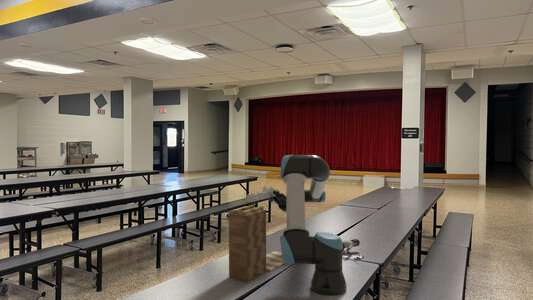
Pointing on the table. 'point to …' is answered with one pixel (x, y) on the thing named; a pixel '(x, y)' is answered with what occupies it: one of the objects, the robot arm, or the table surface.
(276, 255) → the board
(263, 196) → the block
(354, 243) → the figurine
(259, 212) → the wooden rectangular column
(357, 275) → the table surface
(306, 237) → the robot arm
